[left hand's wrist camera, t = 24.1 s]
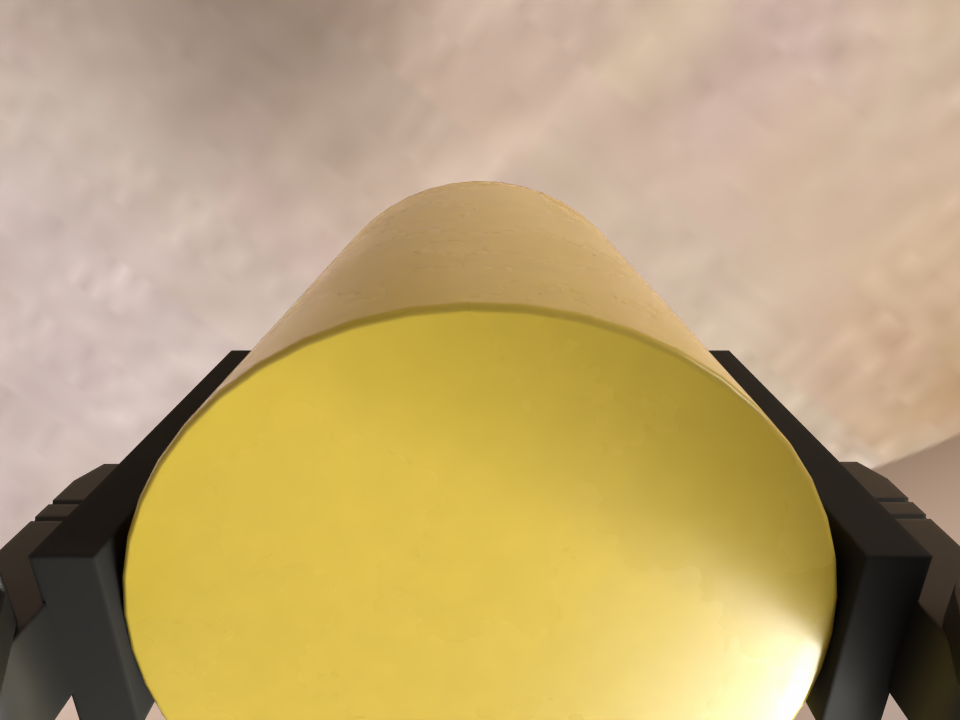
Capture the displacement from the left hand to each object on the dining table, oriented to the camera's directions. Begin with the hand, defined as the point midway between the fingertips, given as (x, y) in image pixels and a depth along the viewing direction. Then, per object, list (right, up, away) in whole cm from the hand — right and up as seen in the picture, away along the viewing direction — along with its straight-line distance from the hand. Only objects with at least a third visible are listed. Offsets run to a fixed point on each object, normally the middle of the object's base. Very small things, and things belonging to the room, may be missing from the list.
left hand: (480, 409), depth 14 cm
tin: (0, +1, +4) cm, 4 cm away
